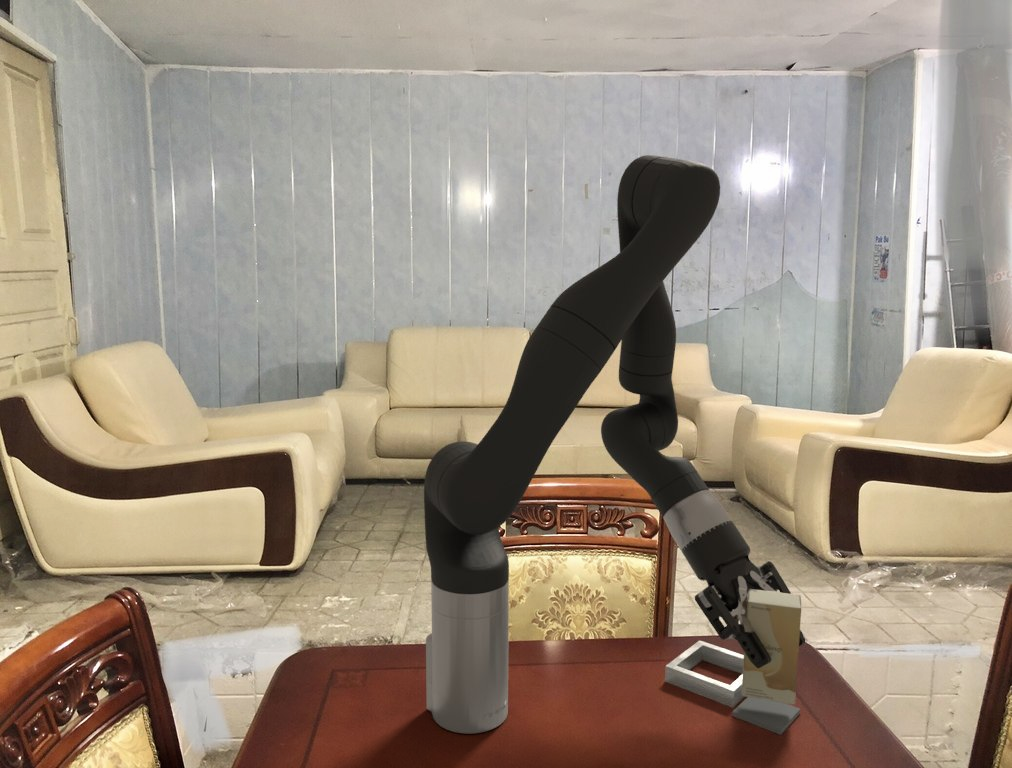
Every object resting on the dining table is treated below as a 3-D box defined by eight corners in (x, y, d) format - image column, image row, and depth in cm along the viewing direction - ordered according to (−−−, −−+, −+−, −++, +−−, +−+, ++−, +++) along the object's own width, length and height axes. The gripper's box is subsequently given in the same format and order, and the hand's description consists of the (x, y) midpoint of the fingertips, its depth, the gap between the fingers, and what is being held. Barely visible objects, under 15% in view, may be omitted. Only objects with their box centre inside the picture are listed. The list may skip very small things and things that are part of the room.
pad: (732, 715, 98) (732, 711, 98) (753, 696, 102) (753, 691, 102) (780, 734, 94) (781, 730, 94) (800, 713, 99) (800, 708, 98)
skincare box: (741, 697, 97) (744, 600, 95) (742, 680, 101) (745, 587, 99) (798, 706, 95) (802, 607, 93) (796, 687, 99) (800, 592, 97)
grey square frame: (665, 681, 106) (665, 665, 105) (698, 655, 113) (699, 640, 113) (733, 707, 100) (733, 691, 99) (764, 678, 107) (765, 662, 106)
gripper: (687, 532, 96) (769, 662, 89) (757, 508, 105) (836, 625, 98) (651, 561, 101) (726, 687, 94) (721, 536, 110) (794, 649, 103)
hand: (782, 655), depth 96 cm, fingers closed on skincare box, 6 cm apart
